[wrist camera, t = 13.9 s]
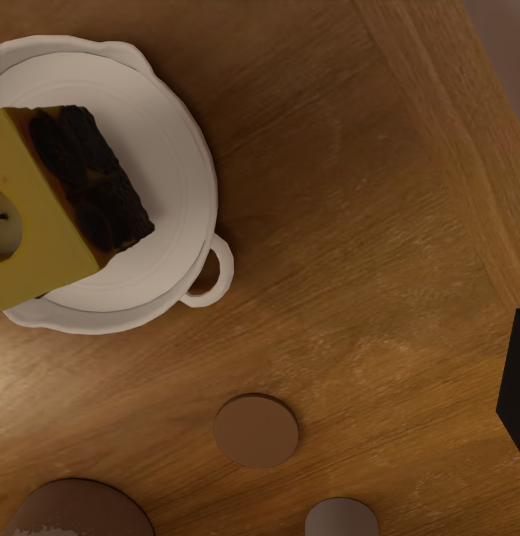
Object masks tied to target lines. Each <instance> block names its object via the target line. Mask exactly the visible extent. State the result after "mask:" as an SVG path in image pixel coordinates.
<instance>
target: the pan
mask: <svg viewBox="0 0 520 536" xmlns="http://www.w3.org/2000/svg"><path fill="white" fill-rule="evenodd" d="M59 105H64V106H66V105H76V106H78V107H79V106H84V107H86V108H87V109H88V111H89V112H90V113H91V114H92V115H94V119H95V122H96V126H97V127H98V129H99V131H100V133H101V134H102V136H103V137H104V139H105V140H106V142H107V144H108V146H109V147H110V148H111V149H112V150H113V153H114V155H115V157H116V158H117V159H118V160H119V165H120V166H121V167H122V169H123V170H124V171H125V173H126V174H127V176H128V178H129V180H130V182H131V184H132V186H133V188H134V190H135V191H136V193H137V194H138V195H139V197H140V200H141V204H142V206H143V208H144V209H145V210H146V211H147V214H148V216H149V220H150V221H151V222H152V223H153V224H155V231H154V232H152V234H149V235H148V236H146V237H145V238H143V239H141V240H140V242H139V243H137V244H135V245H133V247H132V248H128V249H127V250H126V251H124V252H120V253H118V254H116V255H115V256H114V257H113V258H112V259H111V260H110V261H109V263H108V264H107V266H106V267H104V268H103V269H102V270H101V271H99V272H97V273H96V274H94V275H91V276H89V277H86V278H84V279H81V280H79V281H77V282H74V283H72V284H70V285H66V286H63V287H60V288H57V289H55V290H52V291H50V292H49V293H47V294H46V295H44V296H43V297H42V298H40V299H34V298H33V299H30V300H28V301H26V302H24V303H21V304H19V305H17V306H15V307H13V308H10V309H7V310H4V311H3V312H4V313H5V314H6V316H7V317H8V318H9V319H10V320H12V321H13V322H14V323H16V324H18V325H21V326H24V327H35V328H38V327H46V328H50V329H54V330H58V331H62V332H66V333H70V334H90V335H99V334H107V333H115V332H122V331H125V330H128V329H132V328H135V327H138V326H141V325H144V324H145V323H147V322H149V321H151V320H153V319H154V318H156V317H158V316H160V315H161V314H163V313H165V312H166V311H167V310H168V309H169V308H170V307H172V306H173V305H174V304H175V303H176V302H177V301H178V300H180V301H182V302H184V303H185V304H187V305H189V306H190V307H206V306H208V305H210V304H212V303H214V302H216V301H218V300H219V299H220V298H221V297H222V296H223V295H224V294H225V293H226V291H227V290H228V289H229V287H230V284H231V281H232V278H233V275H234V258H233V255H232V253H231V251H230V248H229V246H228V244H227V243H226V242H225V241H224V240H223V239H221V238H220V237H219V236H218V235H217V234H215V233H214V229H215V223H216V218H217V211H218V186H217V177H216V172H215V168H214V163H213V159H212V155H211V153H210V150H209V148H208V145H207V143H206V141H205V138H204V136H203V133H202V131H201V129H200V127H199V126H198V124H197V123H196V121H195V120H194V118H193V116H192V115H191V113H190V112H189V110H188V109H187V107H186V105H185V104H184V103H183V102H182V101H181V99H180V98H179V97H178V96H177V95H176V94H175V93H174V92H173V91H172V90H171V89H170V88H169V87H168V86H167V85H166V84H165V83H164V82H163V81H162V80H160V79H159V78H158V77H156V75H155V74H154V72H153V70H152V67H151V66H150V64H149V63H148V61H147V60H146V58H145V57H144V55H143V54H142V53H141V52H140V51H139V50H138V49H137V48H136V47H135V46H134V45H132V44H129V43H126V42H119V41H106V42H102V43H100V42H94V41H90V40H86V39H81V38H77V37H73V36H69V35H33V36H29V37H24V38H20V39H15V40H11V41H6V42H4V43H2V44H0V108H2V107H16V108H24V107H27V108H29V109H31V110H32V109H34V108H36V107H51V106H59ZM210 248H211V249H212V250H213V251H214V252H216V255H217V257H218V260H219V262H220V276H219V279H218V281H217V283H216V284H215V286H214V287H213V288H212V289H211V290H210V291H208V292H206V293H204V294H202V295H192V294H190V293H189V292H187V291H188V289H189V288H190V286H191V285H192V284H193V282H194V281H195V279H196V278H197V277H198V275H199V274H200V272H201V270H202V268H203V265H204V263H205V260H206V258H207V255H208V253H209V250H210Z"/></svg>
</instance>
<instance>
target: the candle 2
mask: <svg viewBox="0 0 520 536" xmlns="http://www.w3.org/2000/svg"><path fill="white" fill-rule="evenodd" d="M305 536H379V529H378V523H377V519H376V517H375V515H374V514H373V512H372V511H371V510H370V509H369V508H368V507H367V506H365V505H364V504H362V503H360V502H358V501H355V500H352V499H347V498H333V499H328V500H325V501H322V502H320V503H319V504H317V505H316V506H314V507H313V508H312V509H311V510H310V512H309V513H308V515H307V517H306V521H305Z"/></svg>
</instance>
